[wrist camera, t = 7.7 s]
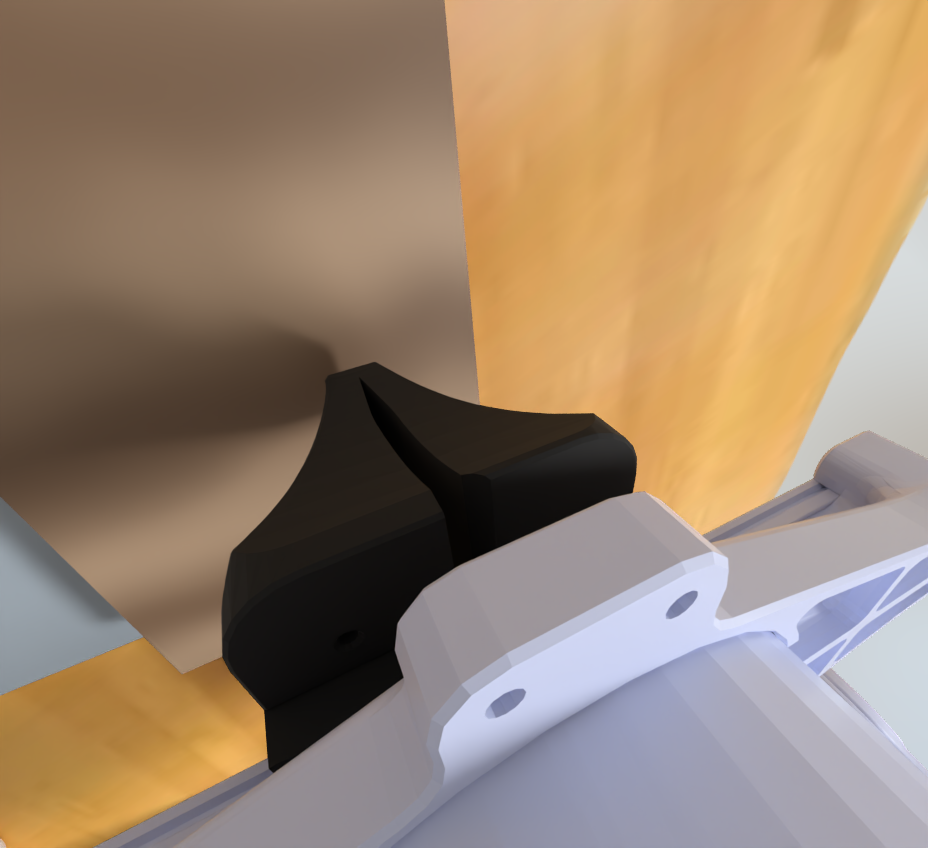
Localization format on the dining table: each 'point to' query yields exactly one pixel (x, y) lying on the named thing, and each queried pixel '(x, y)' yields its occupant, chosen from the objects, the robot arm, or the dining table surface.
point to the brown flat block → (211, 268)
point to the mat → (47, 609)
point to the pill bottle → (2, 844)
